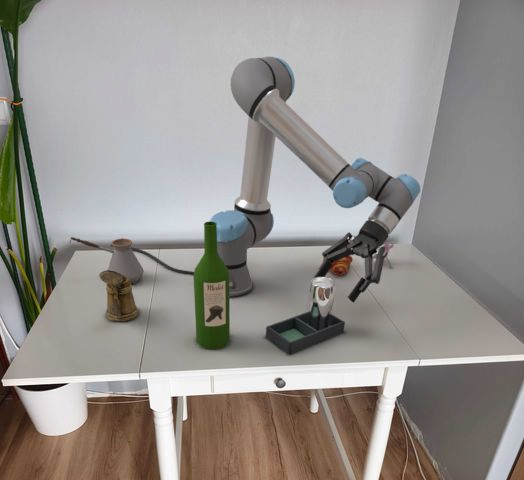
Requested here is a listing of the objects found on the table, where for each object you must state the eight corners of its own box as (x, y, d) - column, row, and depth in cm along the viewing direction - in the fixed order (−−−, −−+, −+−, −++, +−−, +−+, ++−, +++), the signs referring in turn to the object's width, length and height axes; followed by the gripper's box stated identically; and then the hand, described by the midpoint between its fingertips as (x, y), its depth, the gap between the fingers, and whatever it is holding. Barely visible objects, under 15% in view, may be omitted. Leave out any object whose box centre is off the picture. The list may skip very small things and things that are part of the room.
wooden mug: (99, 330, 137) (89, 270, 127) (110, 306, 148) (101, 249, 138) (132, 330, 138) (124, 270, 128) (140, 307, 149) (134, 250, 139)
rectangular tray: (265, 337, 137) (266, 326, 135) (318, 317, 147) (320, 307, 145) (289, 354, 130) (290, 343, 128) (343, 332, 141) (344, 321, 139)
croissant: (324, 263, 189) (316, 245, 186) (349, 252, 187) (341, 233, 183) (331, 286, 171) (323, 267, 168) (359, 274, 169) (351, 254, 165)
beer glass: (329, 337, 138) (335, 289, 130) (304, 334, 139) (308, 285, 131) (331, 325, 144) (337, 278, 135) (307, 322, 145) (311, 275, 136)
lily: (395, 261, 187) (388, 237, 185) (410, 261, 176) (402, 235, 173) (367, 274, 186) (359, 249, 184) (380, 274, 174) (371, 248, 172)
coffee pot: (144, 271, 170) (140, 228, 162) (143, 286, 160) (138, 241, 152) (79, 273, 167) (71, 230, 158) (74, 289, 157) (65, 244, 149)
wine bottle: (202, 352, 130) (197, 231, 112) (192, 335, 137) (186, 219, 119) (234, 345, 133) (234, 227, 115) (223, 329, 140) (221, 215, 122)
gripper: (419, 249, 131) (371, 314, 132) (350, 222, 148) (308, 280, 148) (410, 233, 126) (360, 301, 126) (340, 207, 142) (296, 267, 142)
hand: (332, 290), depth 137 cm, fingers open, 13 cm apart
